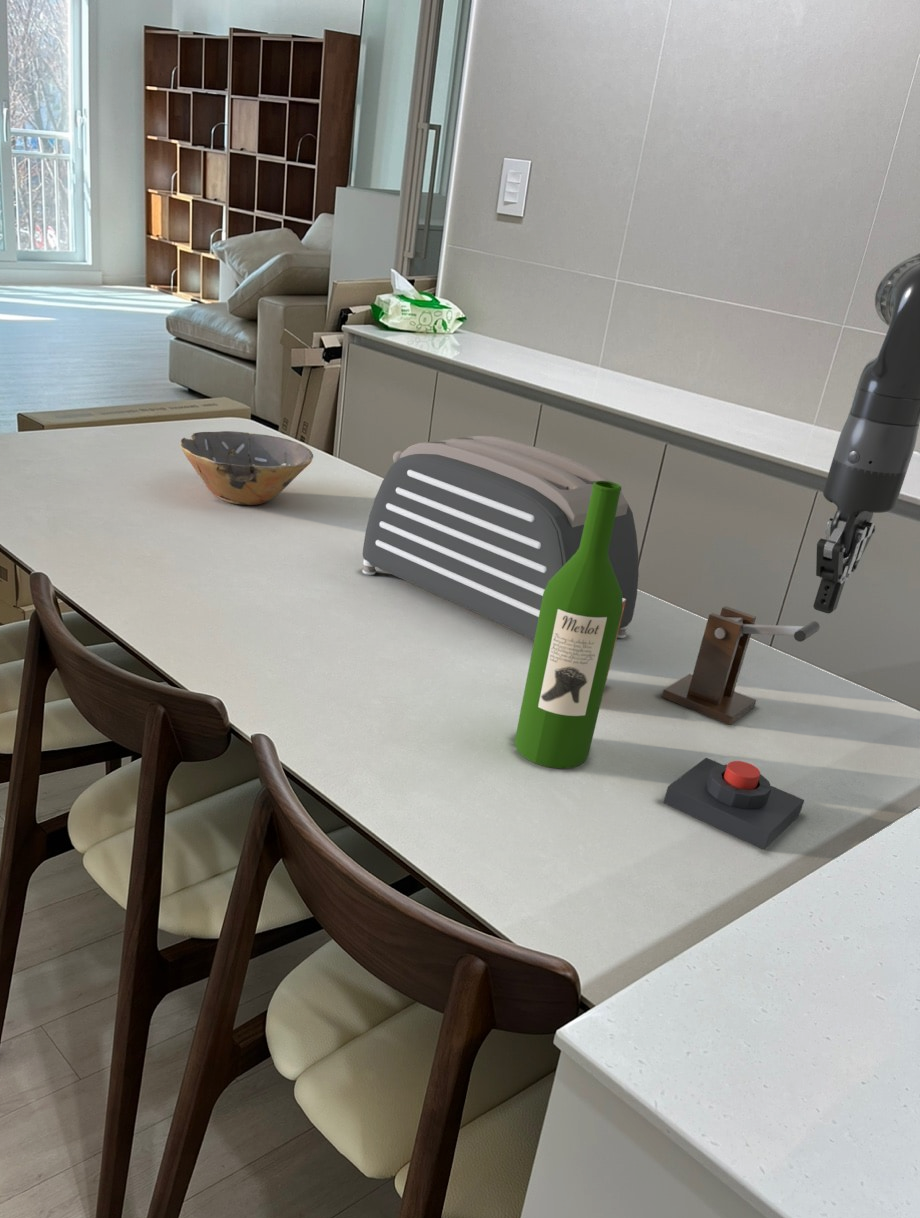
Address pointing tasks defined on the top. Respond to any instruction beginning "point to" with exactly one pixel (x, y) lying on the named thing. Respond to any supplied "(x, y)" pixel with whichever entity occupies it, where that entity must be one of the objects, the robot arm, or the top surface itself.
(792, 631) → the lever
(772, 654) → the top surface
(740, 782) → the button
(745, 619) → the bracket
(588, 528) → the wine bottle
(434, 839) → the top surface
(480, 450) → the toaster
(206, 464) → the bowl
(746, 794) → the control block
